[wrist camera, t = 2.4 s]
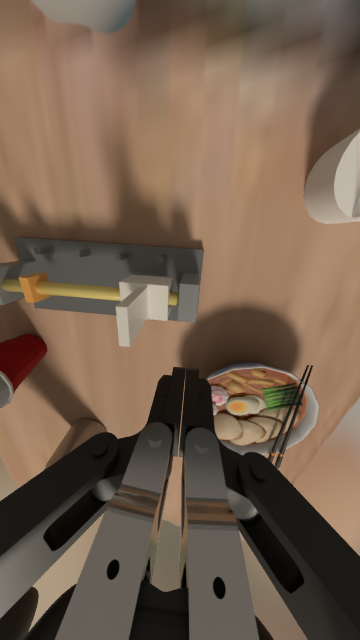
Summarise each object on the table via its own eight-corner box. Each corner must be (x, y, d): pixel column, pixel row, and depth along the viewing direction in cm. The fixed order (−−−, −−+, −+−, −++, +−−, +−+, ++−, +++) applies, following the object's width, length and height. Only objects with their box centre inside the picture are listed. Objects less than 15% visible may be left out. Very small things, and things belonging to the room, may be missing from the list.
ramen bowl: (190, 331, 34) (188, 357, 27) (316, 340, 33) (351, 371, 26) (184, 420, 45) (181, 456, 38) (279, 430, 43) (296, 470, 36)
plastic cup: (65, 367, 41) (17, 414, 30) (20, 363, 42) (-42, 408, 31) (52, 324, 37) (-9, 361, 26) (2, 320, 37) (-78, 355, 26)
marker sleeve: (173, 277, 26) (155, 306, 15) (171, 308, 28) (155, 352, 17) (131, 274, 26) (86, 300, 16) (133, 304, 28) (94, 345, 18)
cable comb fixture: (203, 249, 28) (205, 254, 20) (196, 319, 33) (195, 345, 25) (20, 237, 30) (-43, 237, 22) (40, 305, 35) (-6, 325, 27)
